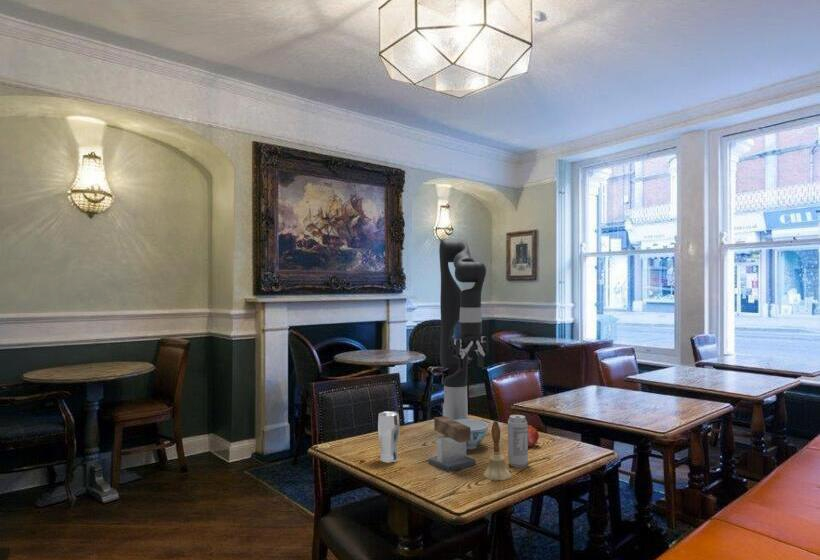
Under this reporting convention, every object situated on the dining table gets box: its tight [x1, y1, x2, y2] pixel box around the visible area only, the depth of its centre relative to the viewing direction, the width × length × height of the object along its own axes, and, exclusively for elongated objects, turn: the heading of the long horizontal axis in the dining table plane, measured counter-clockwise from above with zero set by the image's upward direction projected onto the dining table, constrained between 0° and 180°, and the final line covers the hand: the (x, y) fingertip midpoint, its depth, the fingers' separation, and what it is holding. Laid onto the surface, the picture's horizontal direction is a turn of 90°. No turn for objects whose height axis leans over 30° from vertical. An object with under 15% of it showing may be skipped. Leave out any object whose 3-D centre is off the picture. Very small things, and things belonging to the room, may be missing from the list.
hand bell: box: [482, 420, 512, 481], centre depth 152 cm, size 8×8×16 cm
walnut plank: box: [433, 416, 470, 442], centre depth 162 cm, size 16×4×4 cm, turn 25°
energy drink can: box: [507, 414, 529, 468], centre depth 161 cm, size 6×6×15 cm
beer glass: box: [377, 411, 400, 463], centre depth 166 cm, size 7×7×15 cm
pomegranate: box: [527, 424, 540, 448], centre depth 181 cm, size 7×7×10 cm
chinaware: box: [454, 419, 489, 450], centre depth 180 cm, size 15×15×8 cm
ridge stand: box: [428, 435, 477, 473], centre depth 162 cm, size 10×11×9 cm
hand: (470, 368), depth 174 cm, fingers open, 8 cm apart
